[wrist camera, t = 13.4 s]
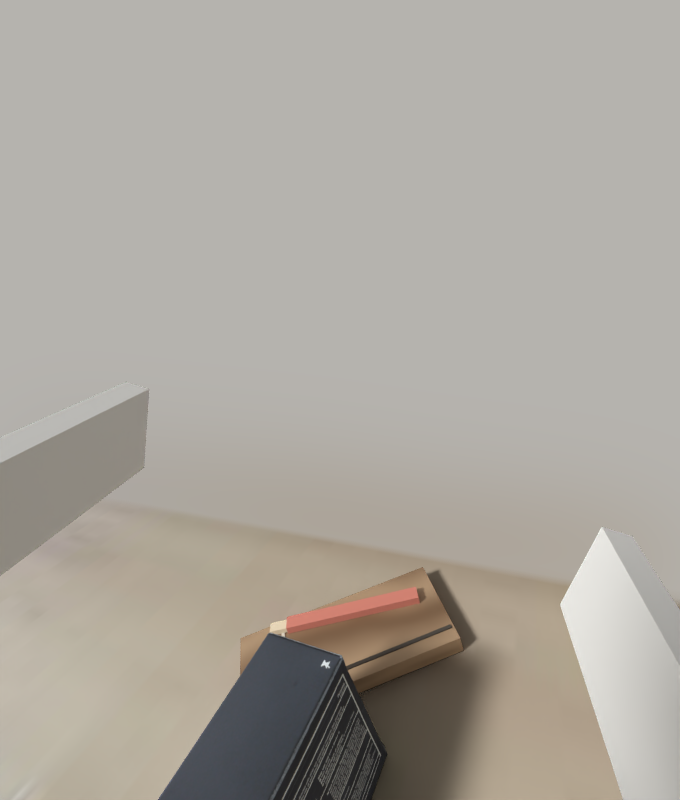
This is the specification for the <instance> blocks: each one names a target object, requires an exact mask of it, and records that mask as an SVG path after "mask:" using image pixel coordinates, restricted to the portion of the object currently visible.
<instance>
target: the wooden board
mask: <svg viewBox="0 0 680 800" xmlns="http://www.w3.org/2000/svg"><path fill="white" fill-rule="evenodd" d="M412 587H416V589H417V592H418V597H419V601H420V603H419V604H414V605H410V606H406V607H401V608H397V609H393V610H389V611H384V612H380V613H376V614H371V615H367V616H363V617H358V618H354V619H350V620H345V621H341V622H337V623H333V624H328V625H324V626H320V627H315V628H311V629H307V630H302V631H298V632H294V633H289V634H288V632H286V633H281V634H277V635H280V636H284V637H287V638H290V639H293V640H296V641H299V642H302V643H305V644H308V645H311V646H315V647H317V648H320V649H323V650H326V651H329V652H333V653H336V654H340V655H342V657H343V659H344V662H345V665H346V668H347V670H348V672H349V674H350V676H351V678H352V680H353V683H354V685H355V687H356V689H357V691H358V693H361V692H363V691H366V690H368V689H371V688H373V687H375V686H378V685H380V684H383V683H385V682H388V681H390V680H393V679H395V678H397V677H400V676H402V675H405V674H407V673H410V672H412V671H415V670H417V669H420V668H422V667H424V666H427V665H429V664H432V663H434V662H437V661H439V660H442V659H444V658H446V657H449V656H451V655H454V654H456V653H459V652H461V651H464V650H463V646H462V643H461V639H460V636H459V635H458V633H457V631H456V629H455V627H454V625H453V623H452V621H451V619H450V618H449V616H448V614H447V612H446V610H445V608H444V606H443V604H442V602H441V601H440V599H439V597H438V595H437V593H436V591H435V589H434V587H433V585H432V583H431V582H430V580H429V578H428V576H427V574H426V572H425V570H424V568H423V567H422V568H419V569H417V570H414V571H412V572H409V573H407V574H404V575H402V576H399V577H396V578H394V579H391V580H389V581H386V582H384V583H381V584H378V585H376V586H373V587H371V588H368V589H366V590H363V591H361V592H358V593H355V594H353V595H350V596H348V597H345V598H343V599H340V600H338V601H335V602H332V603H330V604H327V605H325V606H322V607H320V608H317V609H314V610H319V609H323V608H327V607H331V606H336V605H340V604H344V603H348V602H353V601H357V600H361V599H365V598H370V597H374V596H378V595H382V594H387V593H391V592H395V591H399V590H404V589H408V588H412ZM314 610H312V611H314ZM309 612H310V611H309ZM268 633H270V627H268V628H266V629H263V630H261V631H258V632H256V633H253V634H250V635H248V636H245V637H243V638H241V661H240V676H241V674H242V673H243V671H244V669H245V668H246V666H247V665H248V663H249V662H250V660H251V659H252V657H253V656H254V654H255V653H256V651H257V650H258V648H259V647H260V645H261V644H262V642H263V641H264V639H265V638H266V636H267V634H268Z"/></svg>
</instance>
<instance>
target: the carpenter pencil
mask: <svg viewBox="0 0 680 800" xmlns="http://www.w3.org/2000/svg"><path fill="white" fill-rule="evenodd" d="M419 603H420V601H419V597H418V592H417V589H416V587H412V588H408V589H404V590H399V591H395V592H391V593H387V594H382V595H378V596H374V597H370V598H365V599H361V600H357V601H353V602H348V603H344V604H340V605H336V606H331V607H327V608H323V609H319V610H314V611H310V612H306V613H302V614H297V615H293V616H289V617H287V620H283V621H279V622H275V623H271V625H270V633H274V634H281V633H286V632H288V634H289V633H294V632H298V631H302V630H307V629H311V628H315V627H320V626H324V625H328V624H333V623H337V622H341V621H345V620H350V619H354V618H358V617H363V616H367V615H371V614H376V613H380V612H384V611H389V610H393V609H397V608H401V607H406V606H410V605H414V604H419Z"/></svg>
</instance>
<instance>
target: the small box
mask: <svg viewBox="0 0 680 800" xmlns="http://www.w3.org/2000/svg"><path fill="white" fill-rule="evenodd" d="M386 756H387V752H386V750H385V747H384V745H383V744H382V742H381V741H380V739H379V737H378V735H377V733H376V731H375V728H374V726H373V724H372V722H371V719H370V717H369V715H368V713H367V711H366V709H365V707H364V704H363V702H362V700H361V697H360V696H359V694H358V691H357V689H356V687H355V685H354V683H353V680H352V678H351V676H350V674H349V672H348V670H347V668H346V665H345V662H344V659H343V657H342V655H340V654H336V653H333V652H329V651H326V650H323V649H320V648H317V647H315V646H311V645H308V644H305V643H302V642H299V641H296V640H293V639H290V638H287V637H284V636H280V635H277V634H274V633H268V634H267V636H266V638H265V639H264V641H263V642H262V644H261V645H260V647H259V648H258V650H257V651H256V653H255V654H254V656H253V657H252V659H251V660H250V662H249V663H248V665H247V666H246V668H245V669H244V671H243V673H242V674H241V676H240V677H239V679H238V680H237V682H236V683H235V685H234V686H233V688H232V689H231V691H230V692H229V694H228V695H227V697H226V698H225V700H224V701H223V703H222V704H221V706H220V707H219V709H218V710H217V712H216V713H215V715H214V716H213V718H212V719H211V721H210V722H209V724H208V725H207V727H206V728H205V730H204V731H203V733H202V734H201V736H200V737H199V739H198V741H197V742H196V744H195V745H194V747H193V748H192V750H191V751H190V753H189V754H188V756H187V757H186V759H185V760H184V762H183V763H182V765H181V766H180V768H179V769H178V771H177V772H176V774H175V775H174V777H173V778H172V780H171V781H170V782H169V784H168V785H167V787H166V788H165V790H164V791H163V793H162V794H161V796H160V797H159V799H158V800H371V798H372V795H373V792H374V789H375V787H376V784H377V781H378V778H379V775H380V772H381V770H382V767H383V764H384V761H385V758H386Z"/></svg>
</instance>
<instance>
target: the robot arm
mask: <svg viewBox="0 0 680 800" xmlns="http://www.w3.org/2000/svg"><path fill="white" fill-rule="evenodd" d="M148 399H149V389H148V388H145V387H141V386H138V385H135V384H131V383H128V382H125V383H122V384H120V385H118V386H116V387H113V388H111V389H109V390H107V391H104V392H102V393H100V394H98V395H95V396H93V397H91V398H88V399H86V400H84V401H81V402H79V403H77V404H75V405H73V406H70V407H68V408H66V409H63V410H61V411H59V412H56V413H54V414H52V415H50V416H47V417H45V418H43V419H41V420H38V421H36V422H34V423H31V424H29V425H27V426H25V427H23V428H20V429H18V430H16V431H13V432H11V433H9V434H7V435H5V436H2V437H0V576H1V575H2V574H4V573H5V572H6V571H8V570H9V569H10V568H11V567H13V566H14V565H15V564H17V563H18V562H19V561H21V560H22V559H23V558H25V557H26V556H27V555H29V554H30V553H31V552H33V551H34V550H35V549H37V548H38V547H39V546H41V545H42V544H43V543H45V542H46V541H47V540H49V539H50V538H51V537H53V536H54V535H55V534H57V533H58V532H59V531H61V530H62V529H63V528H65V527H66V526H67V525H69V524H70V523H71V522H73V521H74V520H75V519H77V518H78V517H79V516H81V515H82V514H83V513H85V512H86V511H87V510H89V509H90V508H91V507H93V506H94V505H95V504H97V503H98V502H99V501H100V500H102V499H103V498H104V497H106V496H107V495H108V494H110V493H111V492H112V491H114V490H115V489H116V488H118V487H119V486H120V485H122V484H123V483H124V482H126V481H127V480H128V479H130V478H131V477H132V476H134V475H135V474H136V473H138V472H139V471H140V470H142V469H143V468H144V459H145V443H146V429H147V414H148ZM560 606H561V609H562V612H563V615H564V618H565V621H566V624H567V627H568V630H569V633H570V637H571V640H572V643H573V646H574V649H575V652H576V655H577V658H578V661H579V664H580V667H581V671H582V674H583V677H584V680H585V683H586V686H587V689H588V692H589V695H590V698H591V702H592V705H593V708H594V711H595V714H596V717H597V720H598V723H599V726H600V729H601V732H602V736H603V739H604V742H605V745H606V748H607V751H608V754H609V757H610V760H611V763H612V767H613V770H614V773H615V776H616V779H617V782H618V785H619V788H620V791H621V794H622V797H623V800H680V609H679V608H678V606H677V605H676V603H675V602H674V600H673V598H672V597H671V595H670V594H669V592H668V591H667V589H666V588H665V586H664V585H663V583H662V581H661V580H660V578H659V577H658V575H657V574H656V572H655V570H654V569H653V567H652V566H651V564H650V563H649V561H648V560H647V558H646V557H645V555H644V554H643V552H642V550H641V549H640V547H639V546H638V544H637V543H636V541H635V540H634V538H633V536H631V535H628V534H624V533H621V532H618V531H615V530H611V529H608V528H604V527H602V528H601V530H600V531H599V533H598V535H597V537H596V539H595V540H594V542H593V544H592V546H591V548H590V550H589V552H588V554H587V555H586V558H585V559H584V561H583V563H582V565H581V567H580V569H579V570H578V572H577V574H576V576H575V578H574V580H573V582H572V583H571V585H570V587H569V589H568V591H567V593H566V595H565V596H564V598H563V600H562V602H561V604H560Z"/></svg>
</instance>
